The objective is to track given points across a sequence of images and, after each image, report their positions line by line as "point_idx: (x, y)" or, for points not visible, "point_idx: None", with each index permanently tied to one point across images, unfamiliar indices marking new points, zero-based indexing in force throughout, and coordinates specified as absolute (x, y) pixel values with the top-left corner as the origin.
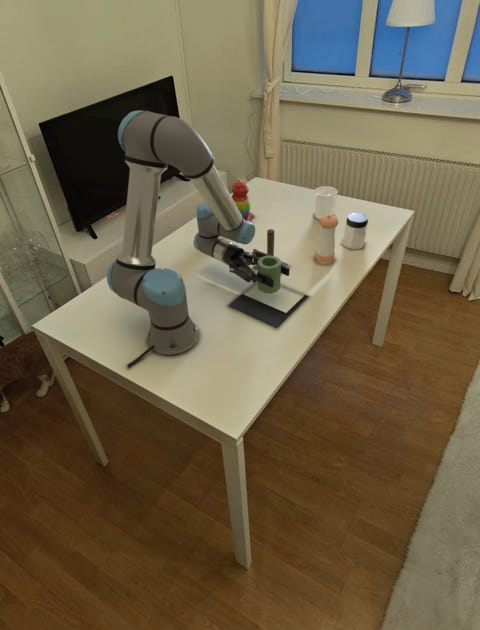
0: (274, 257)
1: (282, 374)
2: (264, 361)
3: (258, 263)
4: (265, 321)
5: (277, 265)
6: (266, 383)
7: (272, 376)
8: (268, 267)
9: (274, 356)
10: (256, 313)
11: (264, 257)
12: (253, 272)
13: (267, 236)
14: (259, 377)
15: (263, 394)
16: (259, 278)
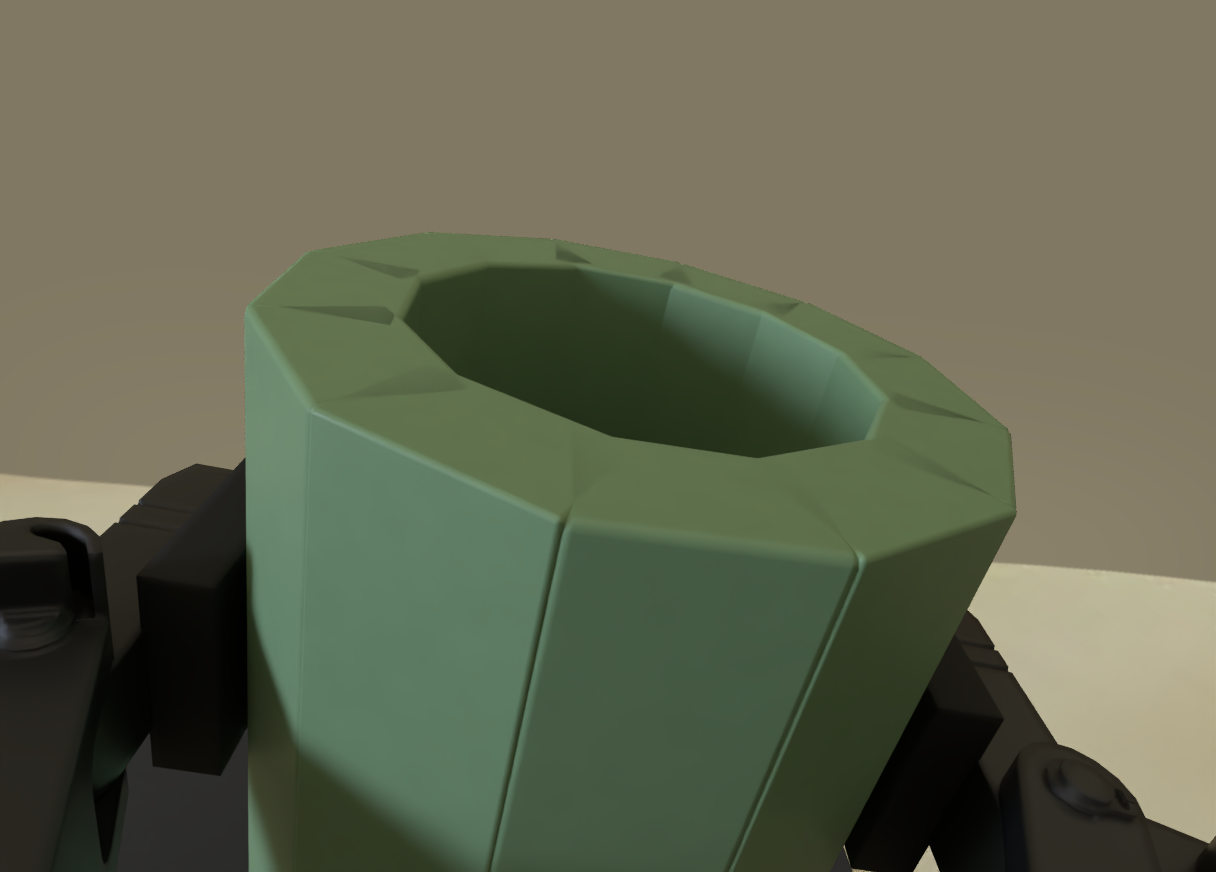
0: (344, 288)
1: (1013, 566)
2: (1079, 666)
3: (1006, 484)
4: (841, 861)
5: (638, 261)
6: (1131, 600)
7: (1076, 595)
8: (845, 329)
9: (991, 637)
10: None
11: (527, 442)
12: (1068, 833)
13: None
14: (1161, 639)
15: (1173, 588)
16: (978, 648)
